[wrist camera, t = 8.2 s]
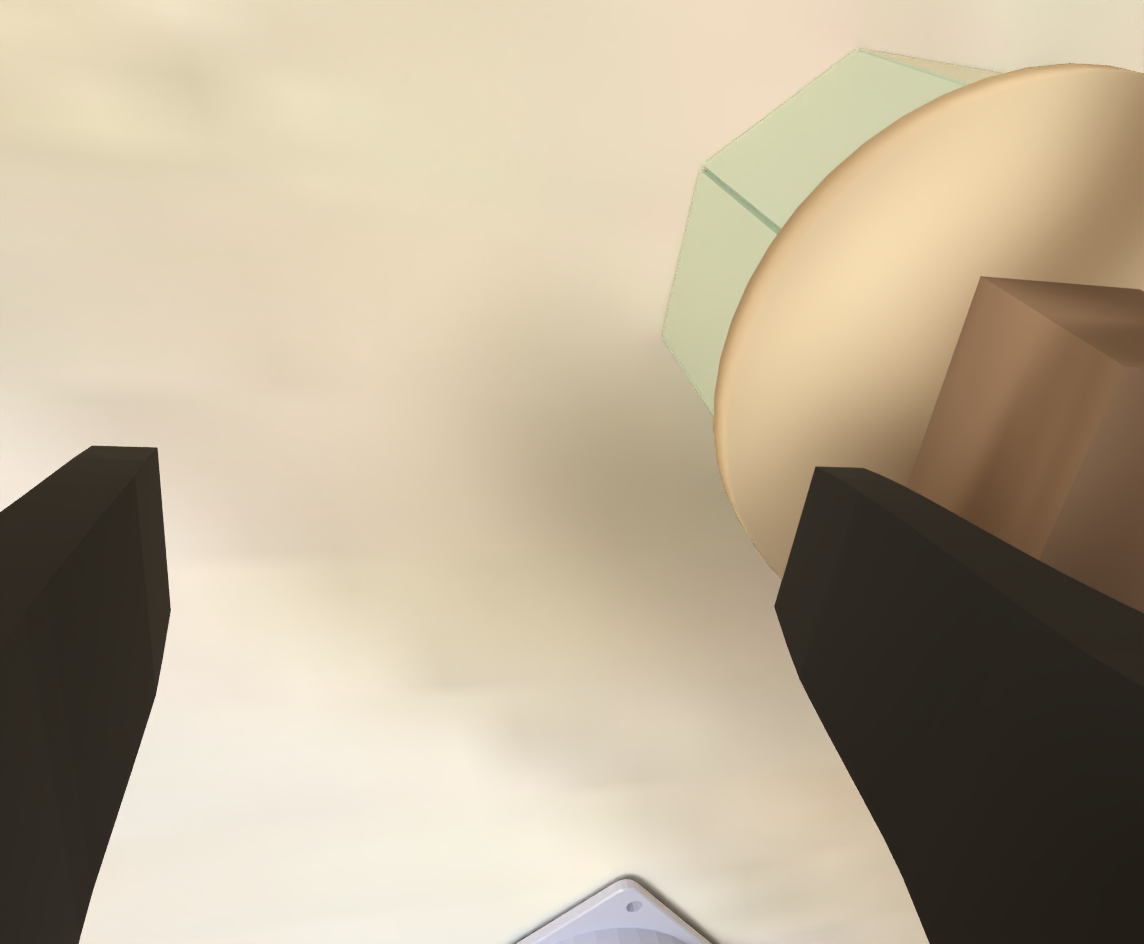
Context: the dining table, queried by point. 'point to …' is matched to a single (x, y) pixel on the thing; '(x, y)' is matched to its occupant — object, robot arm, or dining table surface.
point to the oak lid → (961, 326)
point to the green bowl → (781, 188)
